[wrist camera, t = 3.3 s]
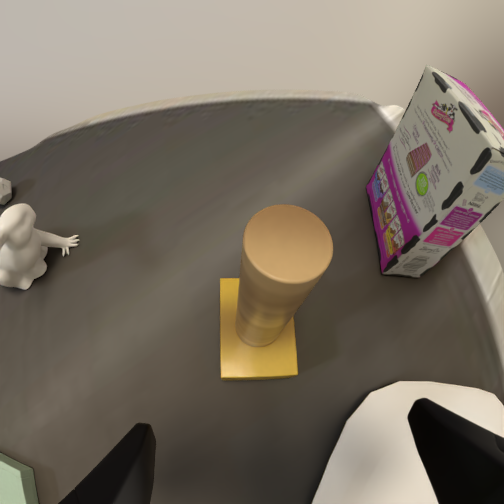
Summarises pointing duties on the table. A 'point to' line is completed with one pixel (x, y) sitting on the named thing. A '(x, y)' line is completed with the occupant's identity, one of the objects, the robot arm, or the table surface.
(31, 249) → the white figurine
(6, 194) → the game die
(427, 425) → the robot arm
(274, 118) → the table surface
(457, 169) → the candy bar box
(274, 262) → the sponge wand
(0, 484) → the tray
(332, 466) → the plate
